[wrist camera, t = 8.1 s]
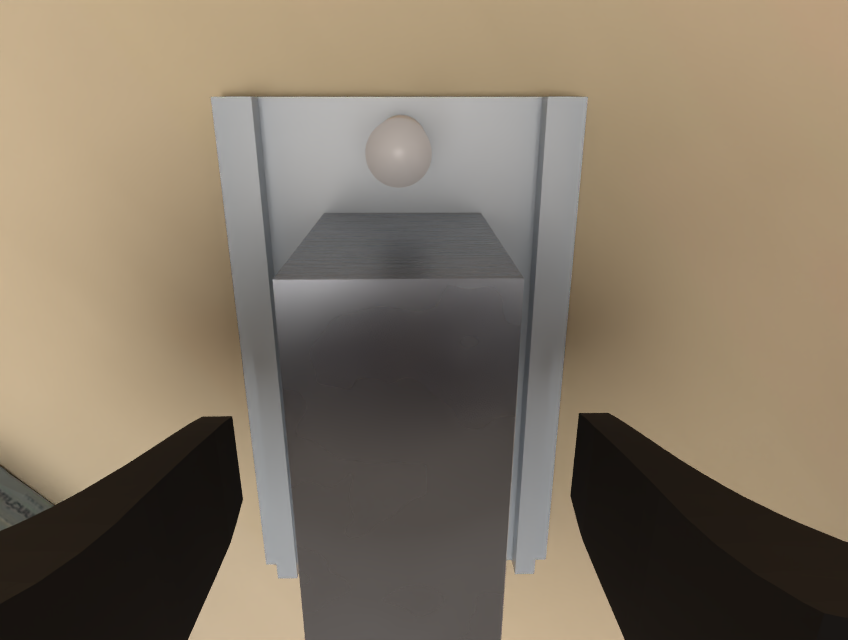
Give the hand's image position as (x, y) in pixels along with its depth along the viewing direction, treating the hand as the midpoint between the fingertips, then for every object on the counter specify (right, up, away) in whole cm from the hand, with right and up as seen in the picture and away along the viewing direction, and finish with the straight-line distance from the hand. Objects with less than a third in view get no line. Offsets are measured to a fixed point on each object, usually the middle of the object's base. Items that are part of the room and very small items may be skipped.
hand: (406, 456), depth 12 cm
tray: (0, +2, +5) cm, 5 cm away
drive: (0, +1, +4) cm, 5 cm away
